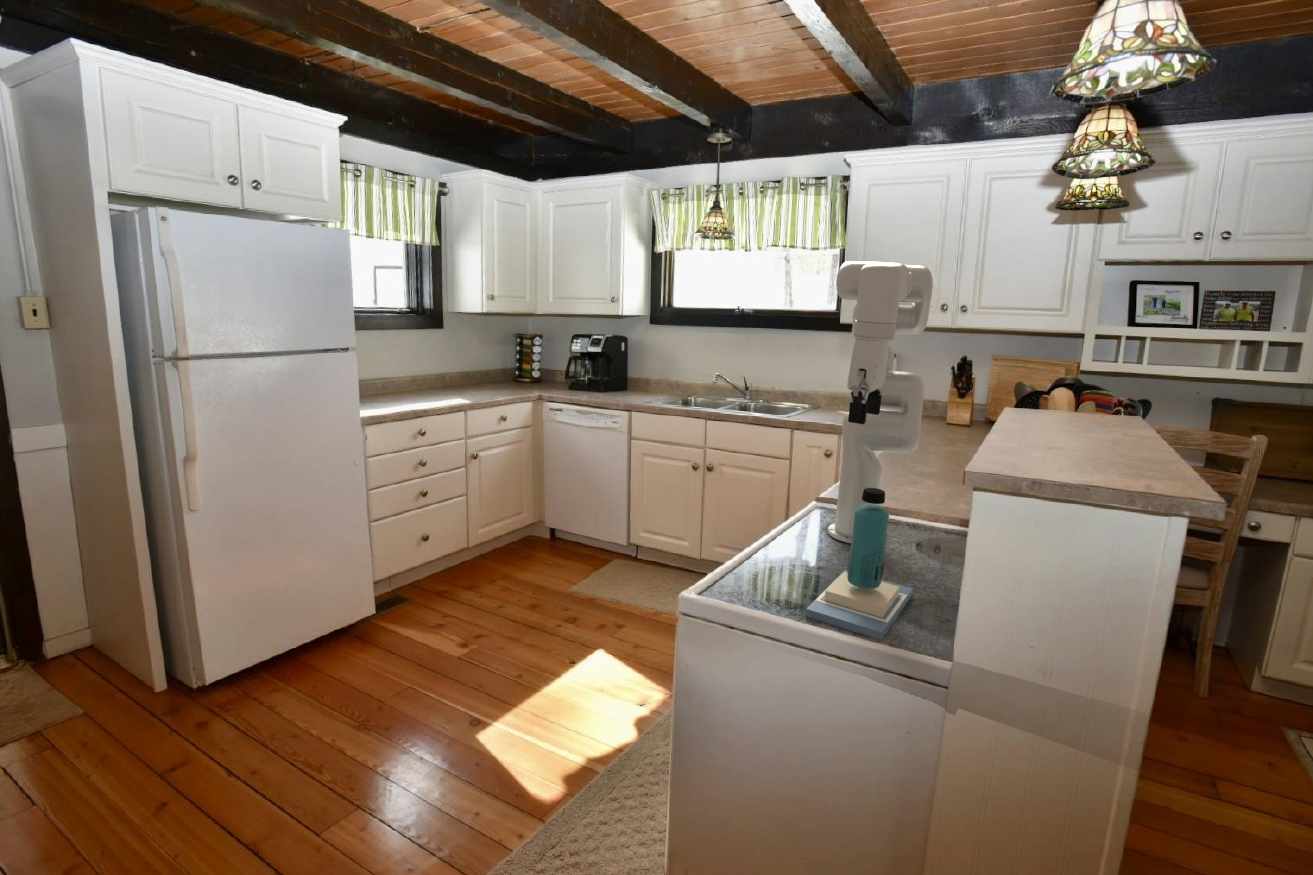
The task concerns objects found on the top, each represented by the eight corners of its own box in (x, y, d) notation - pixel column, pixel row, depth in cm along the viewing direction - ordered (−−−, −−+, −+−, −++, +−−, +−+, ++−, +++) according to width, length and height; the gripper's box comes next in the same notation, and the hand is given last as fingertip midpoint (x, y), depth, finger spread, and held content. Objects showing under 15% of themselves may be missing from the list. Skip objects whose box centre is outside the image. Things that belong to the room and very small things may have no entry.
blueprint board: (844, 576, 147) (846, 560, 146) (912, 595, 139) (914, 579, 139) (805, 616, 129) (807, 598, 128) (881, 640, 121) (883, 621, 121)
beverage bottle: (875, 600, 129) (889, 497, 124) (840, 590, 132) (852, 490, 127) (884, 587, 134) (897, 489, 129) (850, 578, 137) (861, 482, 133)
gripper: (867, 325, 141) (858, 407, 145) (840, 333, 127) (830, 423, 131) (905, 329, 137) (894, 413, 141) (881, 337, 123) (870, 430, 127)
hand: (864, 418), depth 136 cm, fingers open, 9 cm apart
